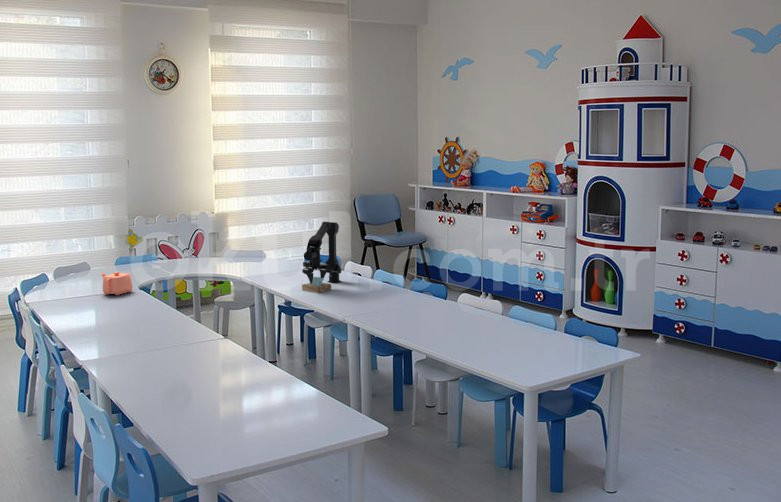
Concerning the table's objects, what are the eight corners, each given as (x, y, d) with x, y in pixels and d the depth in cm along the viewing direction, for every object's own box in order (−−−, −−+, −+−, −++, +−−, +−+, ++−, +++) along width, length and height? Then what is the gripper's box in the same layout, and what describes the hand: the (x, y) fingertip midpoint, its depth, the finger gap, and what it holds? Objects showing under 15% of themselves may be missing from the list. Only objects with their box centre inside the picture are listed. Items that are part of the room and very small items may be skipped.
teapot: (112, 288, 501) (110, 268, 498) (137, 290, 494) (135, 269, 492) (90, 295, 482) (88, 274, 480) (116, 297, 476) (114, 275, 473)
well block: (315, 286, 495) (315, 281, 494) (331, 289, 486) (331, 284, 485) (302, 290, 486) (301, 284, 485) (317, 293, 477) (317, 287, 476)
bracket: (314, 288, 489) (314, 276, 488) (324, 290, 484) (323, 278, 482) (311, 289, 487) (310, 277, 486) (320, 291, 481) (320, 279, 480)
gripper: (317, 254, 495) (318, 278, 497) (295, 258, 481) (296, 283, 483) (329, 256, 487) (330, 280, 490) (308, 260, 473) (309, 285, 476)
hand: (316, 282), depth 485 cm, fingers open, 9 cm apart
